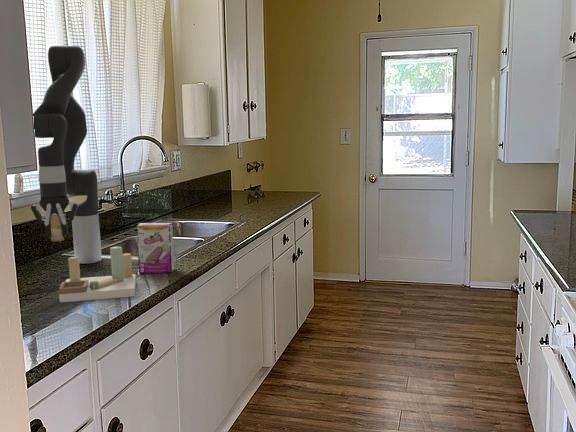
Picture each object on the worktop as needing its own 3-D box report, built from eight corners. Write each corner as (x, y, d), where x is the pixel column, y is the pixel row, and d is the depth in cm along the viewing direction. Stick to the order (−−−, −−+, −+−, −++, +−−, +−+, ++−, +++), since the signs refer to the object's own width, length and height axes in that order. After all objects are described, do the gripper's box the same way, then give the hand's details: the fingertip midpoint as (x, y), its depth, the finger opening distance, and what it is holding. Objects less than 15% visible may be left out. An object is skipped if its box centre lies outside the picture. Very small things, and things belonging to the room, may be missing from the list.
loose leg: (52, 239, 180) (50, 214, 179) (64, 238, 181) (62, 213, 179) (50, 241, 176) (48, 215, 175) (62, 241, 177) (60, 215, 176)
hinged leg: (95, 289, 167) (92, 255, 165) (87, 287, 168) (84, 254, 167) (126, 279, 177) (124, 247, 175) (118, 277, 178) (116, 246, 177)
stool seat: (67, 286, 179) (64, 256, 178) (135, 281, 184) (134, 252, 182) (59, 302, 164) (56, 270, 162) (134, 296, 169) (132, 265, 167)
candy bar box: (138, 274, 192) (135, 225, 190) (141, 270, 197) (139, 222, 195) (172, 273, 193) (170, 224, 190) (174, 269, 198) (172, 222, 195)
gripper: (78, 178, 181) (82, 233, 183) (30, 180, 178) (35, 235, 180) (75, 181, 173) (79, 237, 176) (25, 183, 170) (30, 240, 173)
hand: (57, 236), depth 178 cm, fingers closed on loose leg, 3 cm apart
